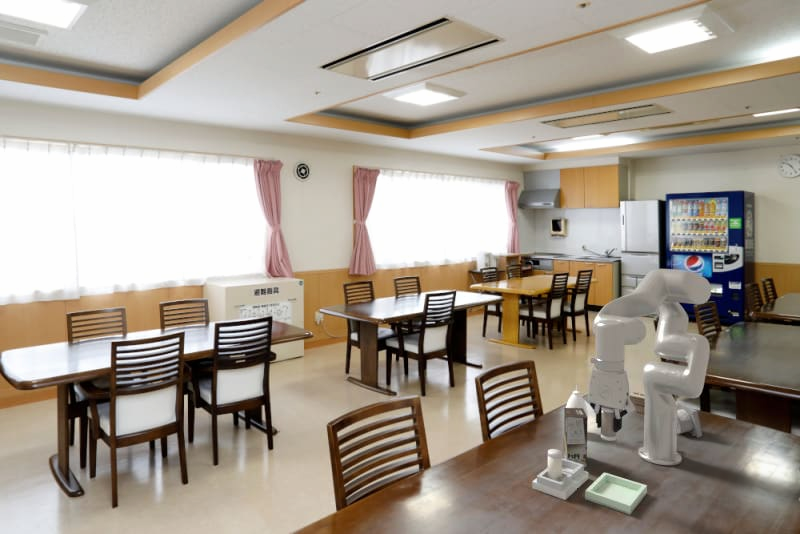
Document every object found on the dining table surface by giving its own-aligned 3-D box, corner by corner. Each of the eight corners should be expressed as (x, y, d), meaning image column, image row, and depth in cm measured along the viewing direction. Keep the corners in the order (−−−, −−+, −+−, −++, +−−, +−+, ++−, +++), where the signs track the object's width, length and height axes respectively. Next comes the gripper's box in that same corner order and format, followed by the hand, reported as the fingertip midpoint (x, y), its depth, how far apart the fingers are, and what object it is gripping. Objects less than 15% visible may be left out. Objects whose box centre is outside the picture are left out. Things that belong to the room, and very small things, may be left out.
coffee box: (587, 467, 160) (588, 417, 159) (566, 466, 162) (566, 416, 161) (583, 455, 169) (583, 407, 168) (562, 453, 171) (563, 406, 169)
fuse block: (556, 468, 160) (557, 434, 159) (588, 478, 154) (588, 443, 153) (532, 488, 148) (532, 451, 148) (565, 500, 142) (565, 461, 141)
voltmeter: (708, 433, 185) (709, 407, 184) (694, 442, 178) (695, 414, 177) (637, 413, 206) (637, 389, 205) (622, 420, 199) (622, 395, 198)
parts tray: (604, 480, 152) (604, 472, 152) (646, 493, 144) (646, 485, 144) (585, 499, 142) (585, 490, 142) (629, 515, 134) (630, 505, 134)
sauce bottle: (568, 426, 193) (569, 380, 192) (590, 431, 189) (590, 383, 187) (562, 433, 187) (562, 385, 186) (583, 438, 182) (584, 389, 181)
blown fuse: (604, 433, 147) (604, 403, 146) (618, 437, 144) (618, 406, 143) (598, 438, 144) (598, 406, 143) (612, 442, 141) (613, 410, 140)
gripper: (574, 362, 145) (574, 425, 147) (635, 373, 134) (634, 441, 135) (586, 357, 151) (585, 417, 152) (645, 367, 139) (644, 432, 140)
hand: (608, 428), depth 144 cm, fingers closed on blown fuse, 4 cm apart
